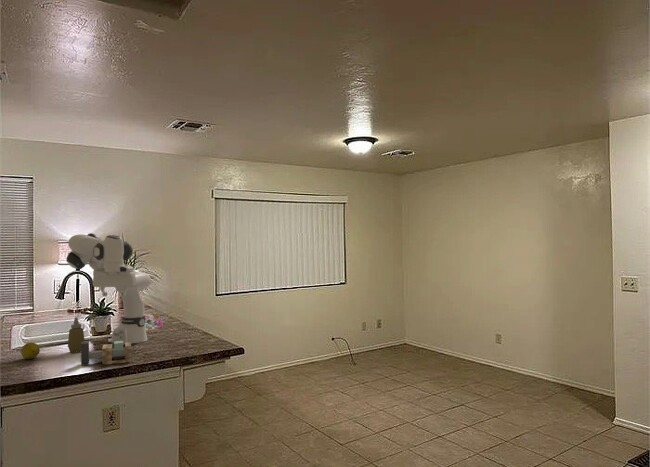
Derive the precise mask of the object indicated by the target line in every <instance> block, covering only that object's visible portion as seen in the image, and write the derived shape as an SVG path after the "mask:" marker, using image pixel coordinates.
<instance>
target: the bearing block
mask: <svg viewBox="0 0 650 467" xmlns="http://www.w3.org/2000/svg"><path fill="white" fill-rule="evenodd" d="M124 345H125V347H124V348H125V356H117V357H112V349H113V343H109V344H106V343H105V344H103V345H102V348H101V350H102V358H101V359H102V360H101V361H102V364H105V365H113V364H112V363H115V364H122V363H130V362H132V355H131V347H132V343H131V342H128V343H125V344H124ZM122 358H124V359H122ZM112 359H114V360H112ZM102 364H101V365H102Z"/></svg>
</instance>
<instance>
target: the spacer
mask: <svg viewBox="0 0 650 467" xmlns="http://www.w3.org/2000/svg"><path fill="white" fill-rule="evenodd" d="M123 348H124V344H123V341H115V342H114V343H113V349H114V351H119V350H123Z"/></svg>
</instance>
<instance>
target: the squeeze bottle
mask: <svg viewBox="0 0 650 467" xmlns="http://www.w3.org/2000/svg"><path fill="white" fill-rule="evenodd" d="M82 342H85V333H84V328H82V324H81V323H79V319H78V317H77V316H76V317H74V320H73V324H71V325H70V329H69V330H68V339H67V348H68V350H69V352H70V353H71V354H78V353H81V343H82Z"/></svg>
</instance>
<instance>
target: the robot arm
mask: <svg viewBox="0 0 650 467" xmlns="http://www.w3.org/2000/svg"><path fill="white" fill-rule="evenodd" d="M67 245H68V248H69V249H70V250H71V251H70V252H68V253H67V256H66V262H67V264H68V265H69V267H71V268H73V269H76V270H82V269H83V268H85V267H86V265H87V264H88V265H89V267H90V268H91V269H92V270H93V272H92V273H93V278H92V286H93V288H99V290H100V291H101V293H102V297H107V296H108V292H107V291H106V290H105V289H106V288H115V290H116V291H117V292H118V293H119V295H120V297H121V301H122V307H123V317H121V318H120V319H119V320H120V321H121V323H120V324H119V325H118V326H117V327H116V328H115V329H113V330H112V334H111V338H108V339H107V343H111V344H114V342H115V341H123V345H125V343H128V342H131V344H138V343H139V344H140V343H143V342H147V341H148V340H149V339H148V336H147V331H146V328H145V315H144V314H145V302H144V300H143V299H142V298H141V294H140V292H142V291H145V290H146V289H148V288H149V287H150V286H151V285H152V278H151V276H150V275H149V274H148V273H145V272H142V271H139V270H136V269H135V267H134V266H131V265H128V264H125V261H128V260H129V259H130V258H131V256H132V255H133V247H132V245H131V244H130V243H129V242H127V241H124V239H123V237H122V236H120V235H114V234H113V235H111V234H110V235H106V236H105V238H104V239H102V238H101V237H100V236H99V235H97V234H95V233H92V232H91V233H90V232H89V233H87V234H79V233H78V234H75V235H72V236H70V238H69V240H68V244H67Z"/></svg>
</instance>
